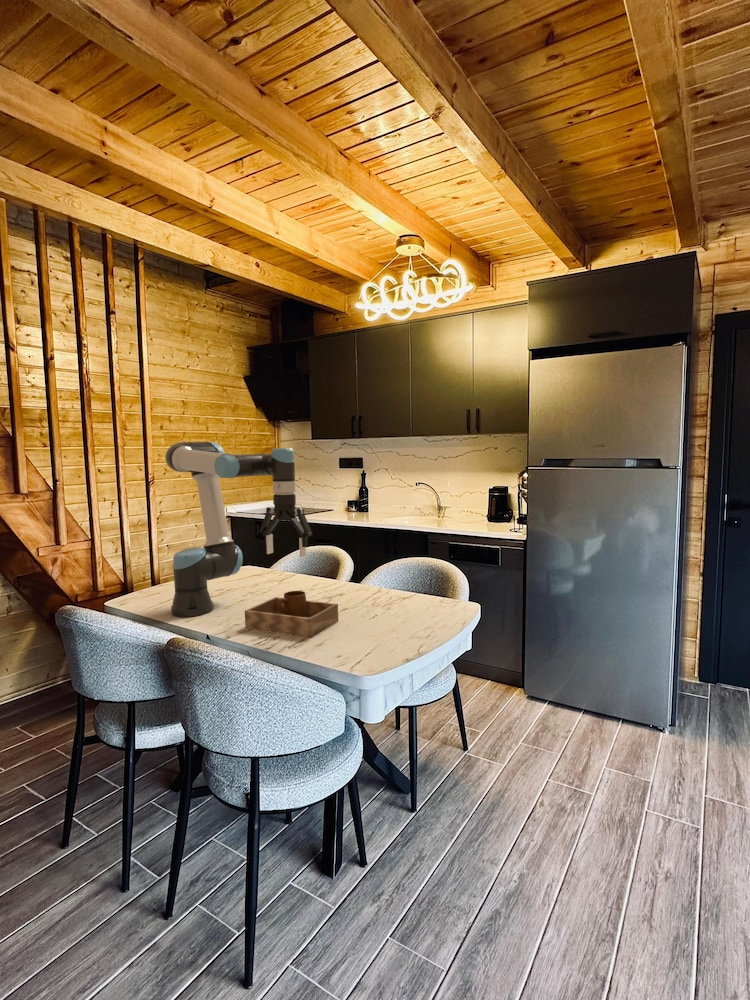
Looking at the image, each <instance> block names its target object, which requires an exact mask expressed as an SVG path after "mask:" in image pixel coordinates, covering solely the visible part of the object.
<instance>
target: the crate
mask: <svg viewBox="0 0 750 1000" xmlns="http://www.w3.org/2000/svg"><path fill="white" fill-rule="evenodd" d="M280 598H281V597H279V596H278V597H277V596H276V597H273V598H271V599H268V600H266V601H264V602H262V603H260V604H258V605H255V606H253V607H250V608H248V609H246V610H244V623H245V626H244V627H245V629H247V628H248V629H247V630H254V629H256V630H257V631H261V630H264V631H263V632H268V631H271V632H270V633H275V632H278V633H277V634H282V633H285V634H284V635H289V634H292V635H291V636H296V635H300V636H299V637H303V636H307V637H306V638H310V637H311V638H313V637H315V636H316V635H318V634H320V633H321V632H323V631H325V630H326V629H327V627H328V628H329V627H331V626H333V625H334V624H336V623H338V621H339V604H338V603H332V602H323V601H322V602H321V601H314V600H306V614H307V616H312V617H310V618H306V617H298V616H289V615H285V614H284V612H279V611H278V610H277V608H276V602H277V600H279V599H280ZM281 607H282V608H283V607H284V603H283V602H282V603H281ZM325 628H326V629H325ZM256 630H255V631H256ZM322 630H323V631H322ZM319 632H320V633H319ZM317 633H318V634H317ZM314 635H315V636H314ZM312 636H313V637H312Z"/></svg>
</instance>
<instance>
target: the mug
mask: <svg viewBox="0 0 750 1000" xmlns="http://www.w3.org/2000/svg"><path fill="white" fill-rule="evenodd" d="M279 598H280V599H279V600H277V602H276V608H277V610H278V611H279V612H284V614H285V615H289V616H298V617H307V614H306V601H307V596H306V592H305V591H302V590H292V591H287V592H285V593H284V594H283V597H279ZM282 602H283V603H284V607H283V608H282V607H281V603H282Z"/></svg>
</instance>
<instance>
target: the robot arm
mask: <svg viewBox="0 0 750 1000" xmlns="http://www.w3.org/2000/svg"><path fill="white" fill-rule="evenodd" d="M165 462H166V463H165V464H166V465H167V466H168V467H169V469H171V470H173V471H175V472H179V473H190V474H191V478H192V479H193V480H195V482H196V486H197V491H198V495H199V496H198V497H199V498H198V499H199V503H200V504H199V505H200V509H201V516H202V521H203V528H204V532H205V540H206V542H205V543H204V544H203V547H201V546H200V547H199V546H197V547H191V548H186V549H182V550H179V551H177V552H176V553H175V554H174V556H173V558H172V559H173V560H172V568H173V569H172V570H173V583H174V585H173V586H174V594H173V600H172V605H171V607H170V613H171V615H172V616H175V617H178V616H179V618H189V617H198V616H202V615H206V614H208V613H210V612H212V611H213V610H214V602H213V600H212V598H211V595H210V593H209V590H208V581H211V580H212V581H213V580H215V579H220V578H224V577H225V578H226V577H230V576H232V575H235V574H237V573H238V572H240V570H241V568H242V565H243V561H244V559H243V558H244V557H243V552H242V549H240V547H239V546H238V545H237V544H235V542H234V539H232V538H231V537H229V529H228V525H227V519H226V517H227V516H226V512H225V505H224V501H223V495H222V489H221V482H220V478H221V479H223V478H224V479H232V478H233V479H234V478H242V477H258V476H259V477H260V476H261V477H262V476H271V477H272V493H274V494H273V496H272V498H273V505H274V506H267V507H266V509H265V510H266V511H265V515H264V519H263V521H262V523H261V526H260V527H259V533H260V534H263V535H264V544H265V545H266V555H270V554H273V553H274V534H273V533H272V532H273V530H274V529H275V527H277V525H278V523H279V522H280V521H281V522H282V521H285V522H289V523H291V525H292V526H293V527H294V529H295V530H296V532H297V533H298V535H299V536H300V537H299V538H298V539H299V541H298V543H299V546H298V547H299V557H300V558H303V557H306V556H307V549H306V548H307V547H308V538H309V537H310V536H313V531H312V529H311V526H310V524H309V522H308V520H307V518H306V515H305V511H304V507H300V508H296V503H297V501H296V500H297V498H296V494H295V493H296V472H295V471H296V469H295V468H296V467H295V466H296V464H295V463H296V459H295V452H294V449H293V448H291V447H290V448H289V447H287V448H286V447H284V448H283V447H281V448H280V447H279V448H277V447H275V448H272V450H271V453H255V454H254V453H252V454H251V453H250V454H248V453H247V454H231V453H226V452H225V451H224V449H223V447H222V446H221V445H220V444H219V443H217V442H212V441H187V442H186V441H181V442H177V443H174V444H172V445H171V446H169V448H168V449H167V451H166V452H165ZM273 514H274V516H273ZM272 517H273V518H272Z"/></svg>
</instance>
